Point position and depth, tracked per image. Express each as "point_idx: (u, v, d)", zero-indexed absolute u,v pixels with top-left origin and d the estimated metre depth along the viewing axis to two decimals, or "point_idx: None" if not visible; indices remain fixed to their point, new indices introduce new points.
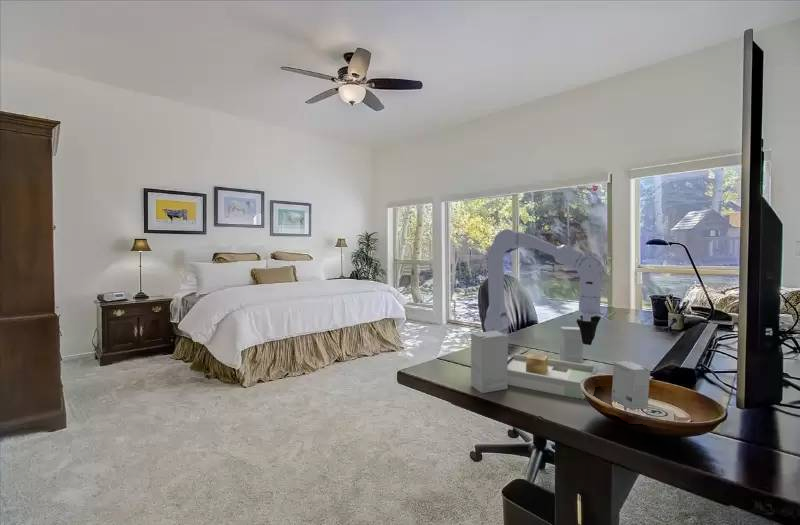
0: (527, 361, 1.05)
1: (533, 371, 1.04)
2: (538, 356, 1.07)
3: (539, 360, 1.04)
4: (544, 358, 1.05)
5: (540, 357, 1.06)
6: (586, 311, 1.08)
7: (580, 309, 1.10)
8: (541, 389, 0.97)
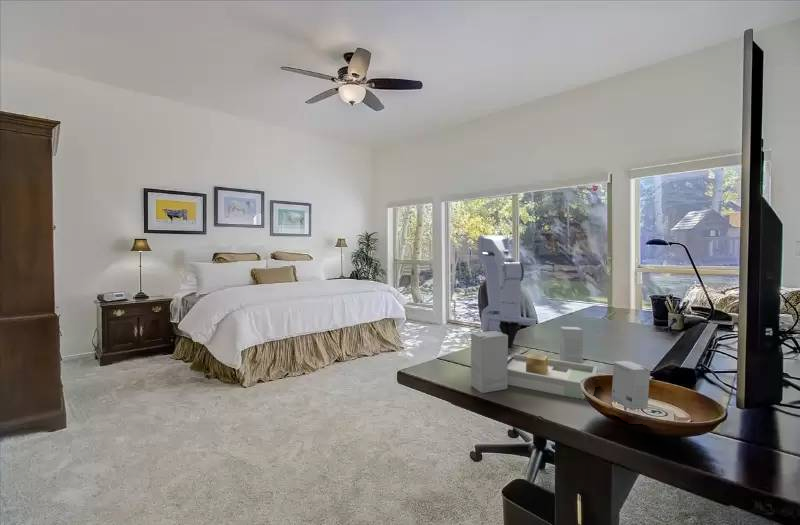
0: (527, 361, 1.05)
1: (533, 371, 1.04)
2: (538, 356, 1.07)
3: (539, 360, 1.04)
4: (544, 358, 1.05)
5: (540, 357, 1.06)
6: None
7: None
8: (541, 389, 0.97)
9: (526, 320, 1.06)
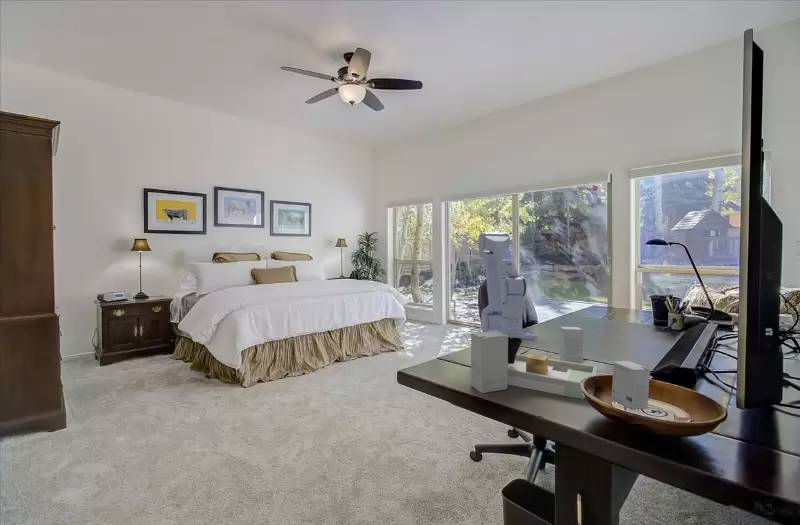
0: (527, 361, 1.05)
1: (533, 371, 1.04)
2: (538, 356, 1.07)
3: (539, 360, 1.04)
4: (544, 358, 1.05)
5: (540, 357, 1.06)
6: None
7: None
8: (541, 389, 0.97)
9: (528, 336, 1.06)
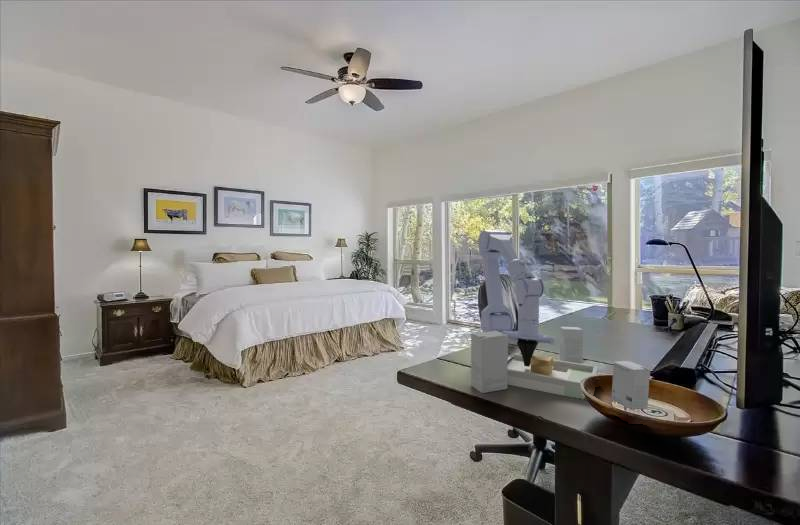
0: (532, 362, 1.05)
1: (538, 372, 1.04)
2: (543, 357, 1.06)
3: (544, 361, 1.03)
4: (549, 359, 1.04)
5: (545, 358, 1.05)
6: None
7: None
8: (541, 389, 0.97)
9: (545, 338, 1.04)
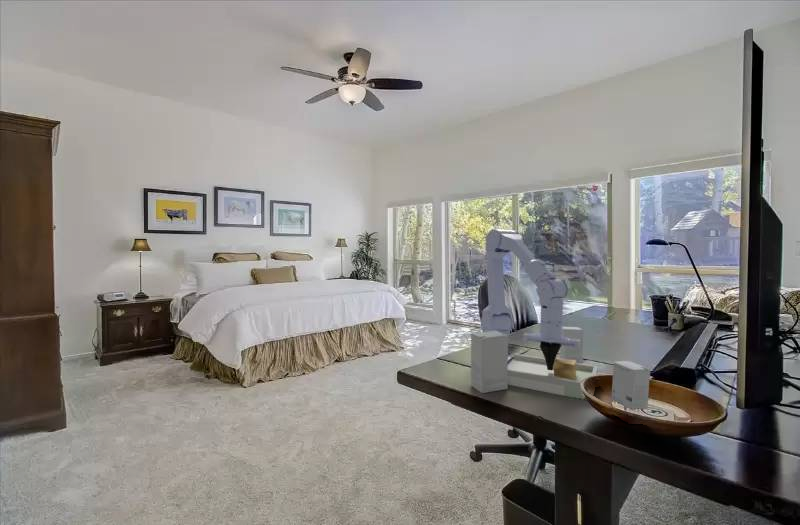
0: (555, 365, 1.01)
1: (562, 376, 1.01)
2: (566, 360, 1.03)
3: (568, 365, 1.00)
4: (573, 362, 1.01)
5: (568, 361, 1.02)
6: None
7: None
8: (541, 389, 0.97)
9: (570, 341, 1.00)
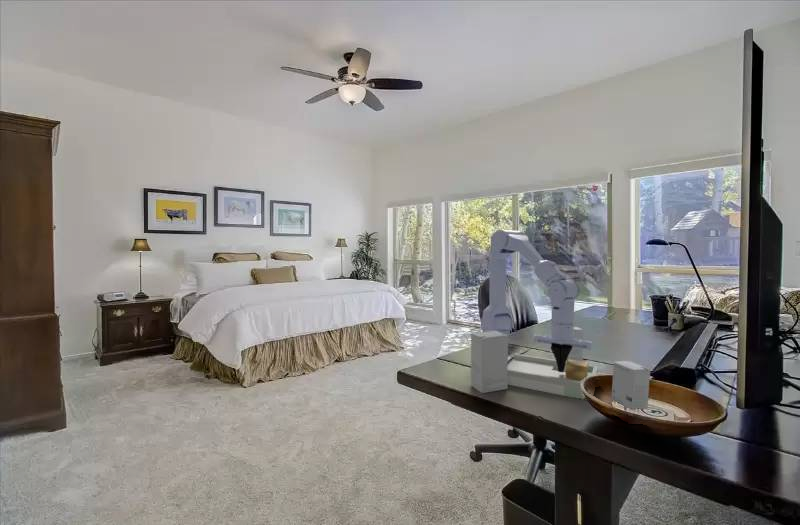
0: (567, 367, 1.00)
1: (573, 378, 0.99)
2: (578, 362, 1.01)
3: (580, 366, 0.98)
4: (585, 364, 0.99)
5: (580, 363, 1.00)
6: None
7: None
8: (541, 389, 0.97)
9: (581, 343, 0.99)
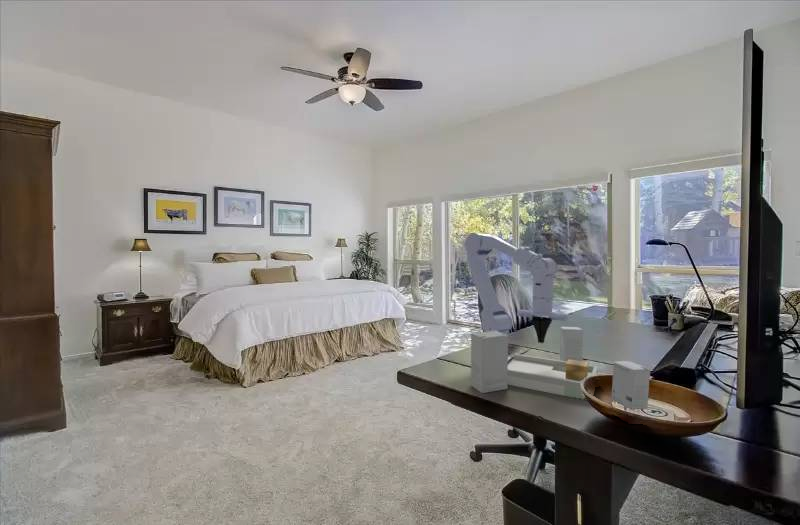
0: (567, 367, 1.00)
1: (573, 378, 0.99)
2: (578, 362, 1.01)
3: (580, 366, 0.98)
4: (585, 364, 0.99)
5: (580, 363, 1.00)
6: None
7: None
8: (541, 389, 0.97)
9: (559, 315, 1.08)
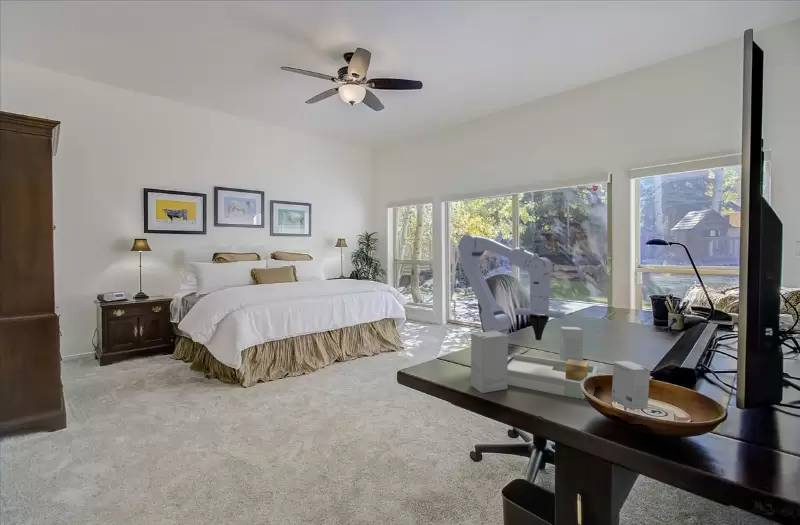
0: (567, 367, 1.00)
1: (573, 378, 0.99)
2: (578, 362, 1.01)
3: (580, 366, 0.98)
4: (585, 364, 0.99)
5: (580, 363, 1.00)
6: None
7: None
8: (541, 389, 0.97)
9: (556, 313, 1.11)
